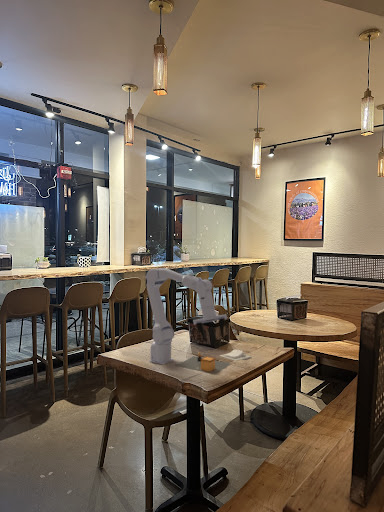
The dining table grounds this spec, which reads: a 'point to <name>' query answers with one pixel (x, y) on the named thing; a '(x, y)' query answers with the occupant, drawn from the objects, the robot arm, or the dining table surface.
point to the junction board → (196, 365)
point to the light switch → (236, 355)
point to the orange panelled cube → (208, 364)
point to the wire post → (199, 357)
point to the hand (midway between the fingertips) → (213, 338)
